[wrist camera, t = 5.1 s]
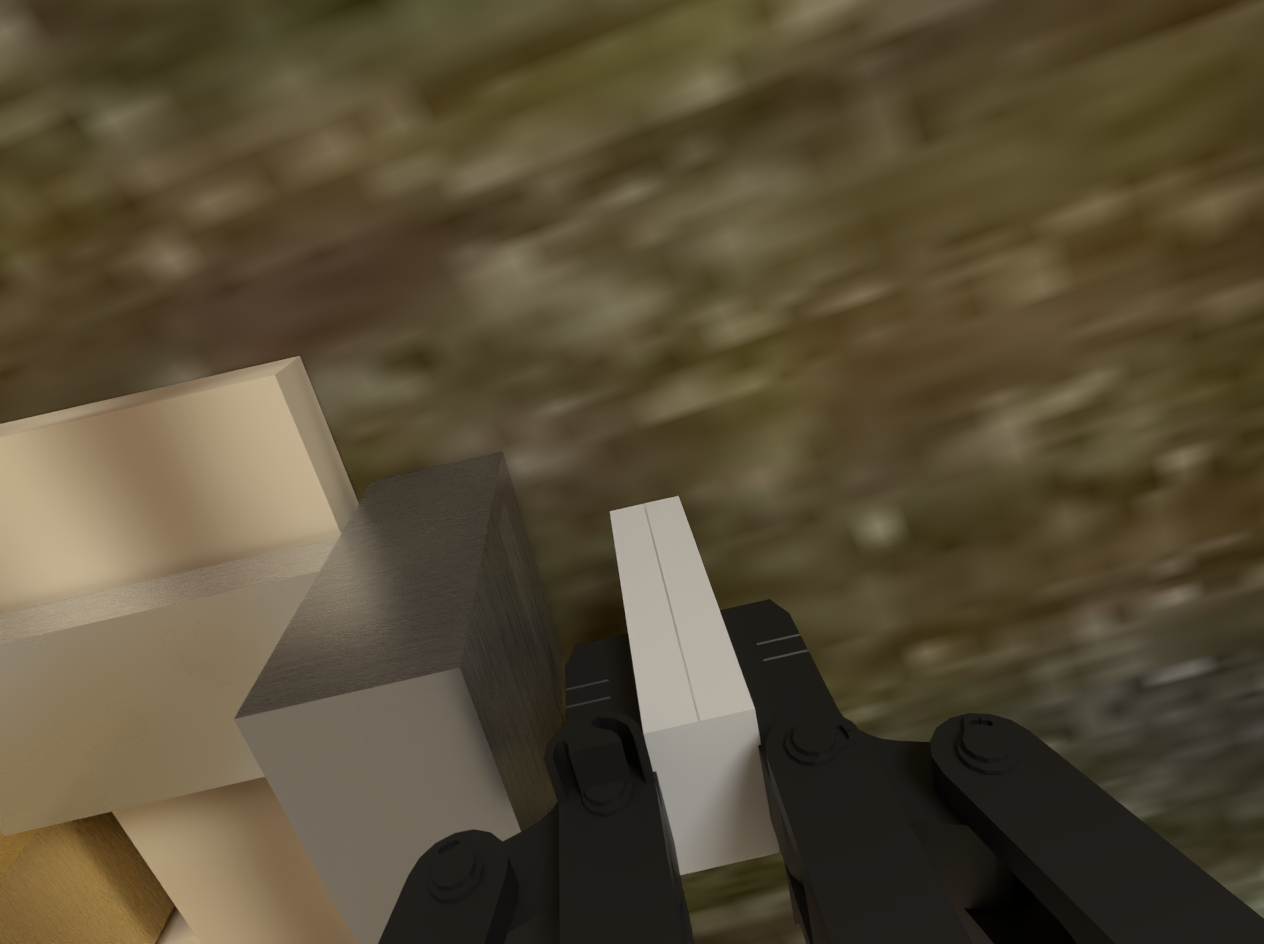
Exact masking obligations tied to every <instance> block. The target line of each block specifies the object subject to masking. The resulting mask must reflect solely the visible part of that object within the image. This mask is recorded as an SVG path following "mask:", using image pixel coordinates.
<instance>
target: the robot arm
mask: <svg viewBox="0 0 1264 944" xmlns="http://www.w3.org/2000/svg"><path fill="white" fill-rule="evenodd" d="M610 516H611V523H612V530H613V536H614V543H615V549H616V556H617V563H618V569H619V576H620V582H621V589H622V596H623V602H624V609H625V615H626V622H627V629H628V633H627V634H623V635H618V636H614V637H609V638H605V639H601V640H596V641H592V642H587V643H583V644H578V645H576V647H575V649H574V651H573V653H572V654H571V656H570V658H569V660H568V662H567V664H566V666H565V671H566V706H567V709H566V724H565V725H564V726H562V727H561V728H560V729H558V730H557V731H556V733H555V734H554V735H553V737H552V738H551V739H550V741H549V742H548V743H547V747H546V751H545V754H544V758H543V759H544V762H545V765H546V768H547V771H548V774H549V777H550V780H551V783H552V786H553V789H554V792H555V795H556V798H557V801H558V802H557V803H556V805H555V806H554V807H553V809H552V810H551V811H550V812H549V813H547V814H546V815H545V816H544V817H543V818H542V819H541V820H540V821H538V822H536V823H535V824H533V825H532V826H530V827H529V828H527V829H525V830H523V831H521V832H520V833H518V834H516V835H514V836H512V837H510V838H508V839H506V840H504V841H501V840H500V839H499V838H497V837H496V836H495V835H494V834H492V833H491V832H487V831H481V830H476V829H472V830H467V831H462V832H457V833H454V834H452V835H450V836H448V837H446V838H444V839H442V840H440V841H438V842H436V843H435V844H434V845H433V846H432V847H431V848H430V849H428V850H427V851H426V852H425V853H424V854H423V855H422V856H421V857H420V858H419V859H418V861H417V862H416V864H415V866H414V867H413V869H412V870H411V872H410V873H409V875H408V877H407V879H406V882H405V884H404V886H403V888H402V891H401V893H400V895H399V897H398V900H397V902H396V904H395V906H394V909H393V911H392V913H391V915H390V918H389V920H388V922H387V924H386V927H385V929H384V931H383V933H382V936H381V938H380V940H379V942H378V944H694V940H693V935H692V929H691V923H690V918H689V912H688V908H687V904H686V900H685V896H684V892H683V889H682V883H681V877H680V875H684V874H688V873H692V872H697V871H701V870H705V869H710V868H714V867H719V866H723V865H727V864H732V863H736V862H740V861H745V860H749V859H754V858H758V857H762V856H767V855H771V854H775V853H780V851H779V847H780V850H781V853H782V856H783V859H784V862H785V868H786V874H787V879H788V885H789V891H790V897H791V903H792V909H793V915H794V921H795V925H796V924H800V925H801V928H802V931H803V934H804V938H805V941H806V944H1264V919H1263V918H1262V917H1261V916H1260V915H1258V914H1257V913H1256V912H1255V911H1253V910H1252V909H1251V908H1250V907H1248V906H1247V905H1246V904H1245V903H1243V902H1242V901H1241V900H1240V899H1238V898H1237V897H1236V896H1235V895H1233V894H1232V893H1231V892H1230V891H1228V890H1227V889H1226V888H1225V887H1224V886H1222V885H1221V884H1220V883H1219V882H1217V881H1216V880H1215V879H1214V878H1212V877H1211V876H1210V875H1209V874H1207V873H1206V872H1205V871H1204V870H1202V869H1201V868H1200V867H1199V866H1197V865H1196V864H1195V863H1194V862H1192V861H1191V860H1190V859H1189V858H1187V857H1186V856H1185V855H1184V854H1182V853H1181V852H1180V851H1179V850H1177V849H1176V848H1175V847H1174V846H1172V845H1171V844H1170V843H1169V842H1167V841H1166V840H1165V839H1164V838H1162V837H1161V836H1160V835H1159V834H1157V833H1156V832H1155V831H1154V830H1152V829H1151V828H1150V827H1149V826H1147V825H1146V824H1145V823H1144V822H1142V821H1141V820H1140V819H1139V818H1137V817H1136V816H1135V815H1134V814H1132V813H1131V812H1130V811H1129V810H1127V809H1126V808H1125V807H1124V806H1123V805H1121V804H1120V803H1119V802H1118V801H1116V800H1115V799H1114V798H1113V797H1111V796H1110V795H1109V794H1108V793H1106V792H1105V791H1104V790H1103V789H1101V788H1100V787H1099V786H1098V785H1096V784H1095V783H1094V782H1093V781H1091V780H1090V779H1089V778H1088V777H1086V776H1085V775H1084V774H1083V773H1081V772H1080V771H1079V770H1078V769H1076V768H1075V767H1074V766H1073V765H1071V764H1070V763H1069V762H1068V761H1066V760H1065V759H1064V758H1063V757H1061V756H1060V755H1059V754H1058V753H1056V752H1055V751H1054V750H1053V749H1051V748H1050V747H1049V746H1048V745H1046V744H1045V743H1044V742H1043V741H1041V740H1040V739H1039V738H1038V737H1036V736H1035V735H1034V734H1033V733H1031V732H1030V731H1029V730H1027V729H1025V728H1024V727H1022V726H1020V725H1019V724H1017V723H1015V722H1013V721H1012V720H1009V719H1006V718H1002V717H999V716H995V715H991V714H972V713H968V714H964V715H960V716H956V717H953V718H949V719H948V720H947V721H945V722H944V723H943V724H941V725H940V726H938V727H937V728H936V730H935V732H934V734H933V736H932V738H931V741H930V742H912V741H895V740H887V739H881V738H878V737H875V736H872V735H868V734H866V733H864V732H863V731H861V730H859V729H858V728H857V727H856V726H855V724H854V723H853V722H851V721H850V720H848V719H846V718H844V717H843V716H842V714H841V713H840V711H839V710H838V708H837V706H836V704H835V702H834V700H833V698H832V696H831V694H830V692H829V690H828V688H827V686H826V685H825V683H824V681H823V679H822V677H821V675H820V673H819V671H818V669H817V667H816V665H815V663H814V661H813V659H812V657H811V655H810V653H809V652H808V651H807V647H806V645H805V643H804V641H803V639H802V637H801V636H800V635H799V631H798V629H797V628H796V626H795V624H794V622H793V620H792V618H791V616H790V614H789V613H788V612H787V611H785V610H784V609H783V608H781V607H780V606H778V605H777V604H775V603H774V602H773V601H771V600H770V599H768V600H764V601H760V602H755V603H751V604H746V605H742V606H737V607H733V608H729V609H724V610H719V607H718V604H717V602H716V599H715V596H714V593H713V591H712V588H711V585H710V582H709V579H708V577H707V574H706V571H705V568H704V565H703V563H702V560H701V557H700V554H699V552H698V549H697V546H696V543H695V540H694V538H693V535H692V532H691V529H690V527H689V524H688V521H687V518H686V515H685V513H684V510H683V507H682V504H681V502H680V499H679V496H676V497H671V498H667V499H662V500H658V501H654V502H649V503H645V504H640V505H636V506H631V507H627V508H623V509H618V510H614V511H610ZM778 843H779V846H778ZM972 942H973V943H972Z"/></svg>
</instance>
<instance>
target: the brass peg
mask: <svg viewBox="0 0 1264 944" xmlns="http://www.w3.org/2000/svg"><path fill="white" fill-rule="evenodd" d="M174 906H175V904H174V903H173V901H172V900H171V898H170V897H169V895H168V894H167V892H166V891H165V889H164V888H163V887H162V885H161V884H160V882H159V881H158V879H157V878H156V876H155V875H154V873H153V872H152V870H151V869H150V867H149V866H148V864H147V863H146V861H145V860H144V858H143V857H142V856H141V854H140V853H139V851H138V850H137V848H136V847H135V845H134V844H133V842H132V841H131V839H130V838H129V836H128V835H127V833H126V832H125V830H124V829H123V828H122V826H121V825H120V823H119V822H118V820H117V819H116V817H115V816H114V814H113V813H112V812H108V813H103V814H99V815H95V816H90V817H86V818H81V819H77V820H73V821H68V822H64V823H59V824H55V825H51V826H46V827H42V828H37V829H33V830H29V831H24V832H20V833H16V834H11V835H7V836H4V835H3V834H2V832H1V831H0V944H155V943H156V941H157V939H158V937H159V935H160V933H161V931H162V929H163V927H164V925H165V923H166V921H167V919H168V917H169V915H170V913H171V911H172V910H173V908H174Z"/></svg>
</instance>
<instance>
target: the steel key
mask: <svg viewBox="0 0 1264 944" xmlns="http://www.w3.org/2000/svg"><path fill="white" fill-rule="evenodd" d="M561 727H562V647H561V644H560V641H559V637H558V634H557V631H556V627H555V624H554V621H553V617H552V614H551V611H550V608H549V604H548V601H547V598H546V594H545V591H544V588H543V584H542V581H541V578H540V574H539V571H538V568H537V564H536V561H535V558H534V555H533V551H532V548H531V545H530V541H529V538H528V535H527V531H526V528H525V525H524V521H523V518H522V515H521V511H520V508H519V505H518V502H517V498H516V495H515V492H514V488H513V485H512V482H511V478H510V475H509V472H508V468H507V465H506V462H505V458H504V455H503V452H498V453H494V454H489V455H485V456H481V457H476V458H472V459H467V460H463V461H459V462H454V463H450V464H445V465H441V466H437V467H432V468H428V469H423V470H419V471H415V472H410V473H406V474H401V475H397V476H393V477H388V478H384V479H380V480H375V481H372V482H371V484H370V486H369V487H368V489H367V491H366V493H365V494H364V496H363V498H362V499H361V501H360V503H359V505H358V506H357V508H356V510H355V511H354V513H353V515H352V517H351V518H350V520H349V522H348V523H347V525H346V527H345V529H344V530H343V532H342V534H341V536H340V537H336V538H332V539H327V540H323V541H319V542H314V543H310V544H305V545H301V546H297V547H292V548H288V549H283V550H279V551H275V552H270V553H266V554H262V555H257V556H253V557H248V558H244V559H240V560H235V561H231V562H226V563H222V564H218V565H213V566H209V567H204V568H200V569H196V570H191V571H187V572H182V573H178V574H174V575H169V576H165V577H161V578H156V579H152V580H147V581H143V582H139V583H134V584H130V585H125V586H121V587H117V588H112V589H108V590H103V591H99V592H95V593H90V594H86V595H81V596H77V597H73V598H68V599H64V600H60V601H55V602H51V603H46V604H42V605H38V606H33V607H29V608H24V609H20V610H16V611H11V612H7V613H2V614H0V831H1V832H2V834H3V835H4V836H7V835H11V834H16V833H20V832H24V831H29V830H33V829H37V828H42V827H46V826H51V825H55V824H59V823H64V822H68V821H73V820H77V819H81V818H86V817H90V816H95V815H99V814H103V813H108V812H112V811H117V810H121V809H125V808H130V807H134V806H139V805H143V804H147V803H152V802H156V801H161V800H165V799H169V798H174V797H178V796H182V795H187V794H191V793H196V792H200V791H204V790H209V789H213V788H218V787H222V786H226V785H231V784H235V783H240V782H244V781H248V780H253V779H257V778H262V777H266V779H267V781H268V783H269V785H270V786H271V788H272V790H273V792H274V794H275V795H276V797H277V799H278V801H279V803H280V805H281V806H282V808H283V810H284V812H285V814H286V816H287V817H288V819H289V821H290V823H291V825H292V827H293V828H294V830H295V832H296V834H297V836H298V837H299V839H300V841H301V843H302V845H303V847H304V848H305V850H306V852H307V854H308V856H309V858H310V859H311V861H312V863H313V865H314V867H315V868H316V870H317V872H318V874H319V876H320V878H321V879H322V881H323V883H324V885H325V887H326V889H327V890H328V892H329V894H330V896H331V898H332V899H333V901H334V903H335V905H336V907H337V909H338V910H339V912H340V914H341V916H342V918H343V920H344V921H345V923H346V925H347V927H348V929H349V931H350V932H351V934H352V936H353V938H354V940H355V941H356V943H357V944H378V942H379V940H380V938H381V936H382V933H383V931H384V929H385V927H386V924H387V922H388V920H389V918H390V915H391V913H392V911H393V909H394V906H395V904H396V902H397V900H398V897H399V895H400V893H401V891H402V888H403V886H404V884H405V882H406V879H407V877H408V875H409V873H410V872H411V870H412V869H413V867H414V866H415V864H416V862H417V861H418V859H419V858H420V857H421V856H422V855H423V854H424V853H425V852H426V851H427V850H428V849H430V848H431V847H432V846H433V845H434V844H435V843H436V842H438V841H440V840H442V839H444V838H446V837H448V836H450V835H452V834H454V833H457V832H462V831H467V830H472V829H476V830H481V831H487V832H491V833H492V834H494V835H495V836H496V837H497V838H499V839H500V840H501V841H504V840H506V839H508V838H510V837H512V836H514V835H516V834H518V833H520V832H521V831H523V830H525V829H527V828H529V827H530V826H532V825H533V824H535V823H536V822H538V821H540V820H541V819H542V818H543V817H544V816H545V815H546V814H547V813H549V812H550V811H551V810H552V809H553V807H554V806H555V805H556V803H557V802H558V801H557V798H556V795H555V792H554V789H553V786H552V783H551V780H550V777H549V774H548V771H547V768H546V765H545V762H544V759H543V758H544V754H545V751H546V747H547V743H548V742H549V741H550V739H551V738H552V737H553V735H554V734H555V733H556V731H557V730H558V729H560V728H561Z"/></svg>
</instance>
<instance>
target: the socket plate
mask: <svg viewBox="0 0 1264 944" xmlns="http://www.w3.org/2000/svg"><path fill="white" fill-rule="evenodd" d="M358 505H359V503H358V501H357V498H356V496H355V493H354V491H353V488H352V486H351V483H350V481H349V478H348V476H347V473H346V471H345V468H344V465H343V463H342V460H341V458H340V455H339V453H338V450H337V448H336V445H335V443H334V440H333V438H332V435H331V433H330V430H329V428H328V425H327V423H326V420H325V418H324V415H323V413H322V410H321V408H320V405H319V403H318V400H317V398H316V395H315V393H314V390H313V388H312V385H311V383H310V380H309V378H308V375H307V373H306V370H305V368H304V365H303V363H302V360H301V358H300V356H297V357H293V358H288V359H284V360H280V361H275V362H271V363H266V364H262V365H258V366H253V367H249V368H245V369H240V370H236V371H231V372H227V373H223V374H218V375H214V376H209V377H205V378H201V379H196V380H192V381H187V382H183V383H179V384H174V385H170V386H166V387H161V388H157V389H152V390H148V391H144V392H139V393H135V394H130V395H126V396H122V397H117V398H113V399H108V400H104V401H100V402H95V403H91V404H87V405H82V406H78V407H73V408H69V409H65V410H60V411H56V412H51V413H47V414H43V415H38V416H34V417H29V418H25V419H21V420H16V421H12V422H8V423H3V424H0V614H2V613H7V612H11V611H16V610H20V609H24V608H29V607H33V606H38V605H42V604H46V603H51V602H55V601H60V600H64V599H68V598H73V597H77V596H81V595H86V594H90V593H95V592H99V591H103V590H108V589H112V588H117V587H121V586H125V585H130V584H134V583H139V582H143V581H147V580H152V579H156V578H161V577H165V576H169V575H174V574H178V573H182V572H187V571H191V570H196V569H200V568H204V567H209V566H213V565H218V564H222V563H226V562H231V561H235V560H240V559H244V558H248V557H253V556H257V555H262V554H266V553H270V552H275V551H279V550H283V549H288V548H292V547H297V546H301V545H305V544H310V543H314V542H319V541H323V540H327V539H332V538H336V537H340V536H341V534H342V532H343V530H344V529H345V527H346V525H347V523H348V522H349V520H350V518H351V517H352V515H353V513H354V511H355V510H356V508H357V506H358ZM112 813H113V814H114V816H115V817H116V819H117V820H118V822H119V823H120V825H121V826H122V828H123V829H124V830H125V832H126V833H127V835H128V836H129V838H130V839H131V841H132V842H133V844H134V845H135V847H136V848H137V850H138V851H139V853H140V854H141V856H142V857H143V858H144V860H145V861H146V863H147V864H148V866H149V867H150V869H151V870H152V872H153V873H154V875H155V876H156V878H157V879H158V881H159V882H160V884H161V885H162V887H163V888H164V889H165V891H166V892H167V894H168V895H169V897H170V898H171V900H172V901H173V903H174V904H175V906H174V908H173V910H172V911H171V913H170V915H169V917H168V919H167V921H166V923H165V925H164V927H163V929H162V931H161V933H160V935H159V937H158V939H157V941H156V943H155V944H357V943H356V941H355V940H354V938H353V936H352V934H351V932H350V931H349V929H348V927H347V925H346V923H345V921H344V920H343V918H342V916H341V914H340V912H339V910H338V909H337V907H336V905H335V903H334V901H333V899H332V898H331V896H330V894H329V892H328V890H327V889H326V887H325V885H324V883H323V881H322V879H321V878H320V876H319V874H318V872H317V870H316V868H315V867H314V865H313V863H312V861H311V859H310V858H309V856H308V854H307V852H306V850H305V848H304V847H303V845H302V843H301V841H300V839H299V837H298V836H297V834H296V832H295V830H294V828H293V827H292V825H291V823H290V821H289V819H288V817H287V816H286V814H285V812H284V810H283V808H282V806H281V805H280V803H279V801H278V799H277V797H276V795H275V794H274V792H273V790H272V788H271V786H270V785H269V783H268V781H267V779H266V777H262V778H257V779H253V780H248V781H244V782H240V783H235V784H231V785H226V786H222V787H218V788H213V789H209V790H204V791H200V792H196V793H191V794H187V795H182V796H178V797H174V798H169V799H165V800H161V801H156V802H152V803H147V804H143V805H139V806H134V807H130V808H125V809H121V810H117V811H112Z"/></svg>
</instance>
